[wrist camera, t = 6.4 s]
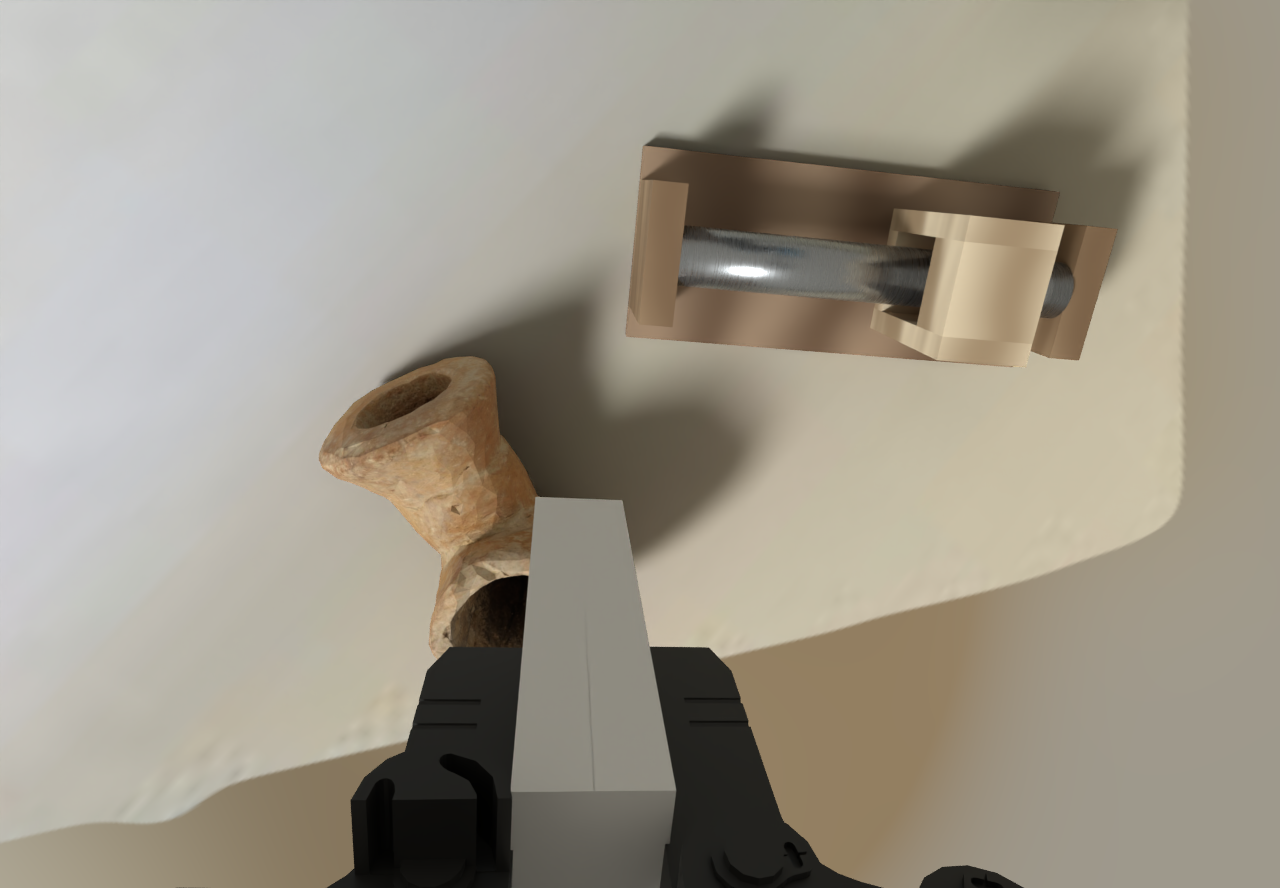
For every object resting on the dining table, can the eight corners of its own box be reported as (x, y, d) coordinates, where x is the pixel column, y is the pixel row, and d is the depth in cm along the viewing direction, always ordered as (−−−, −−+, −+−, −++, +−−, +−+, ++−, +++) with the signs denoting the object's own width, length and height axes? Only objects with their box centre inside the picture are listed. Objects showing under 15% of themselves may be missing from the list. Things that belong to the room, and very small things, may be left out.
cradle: (625, 333, 38) (635, 358, 33) (642, 146, 36) (656, 140, 30) (1004, 363, 41) (1069, 390, 36) (1050, 191, 38) (1128, 193, 33)
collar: (870, 327, 38) (936, 360, 31) (894, 208, 36) (970, 215, 29) (944, 334, 38) (1025, 367, 32) (971, 216, 36) (1064, 225, 30)
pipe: (482, 319, 38) (456, 366, 28) (643, 560, 43) (665, 666, 34) (334, 410, 38) (261, 485, 29) (510, 635, 44) (496, 759, 34)
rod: (669, 281, 34) (677, 289, 32) (676, 223, 34) (684, 226, 31) (1030, 313, 37) (1063, 323, 34) (1045, 259, 36) (1080, 265, 33)
